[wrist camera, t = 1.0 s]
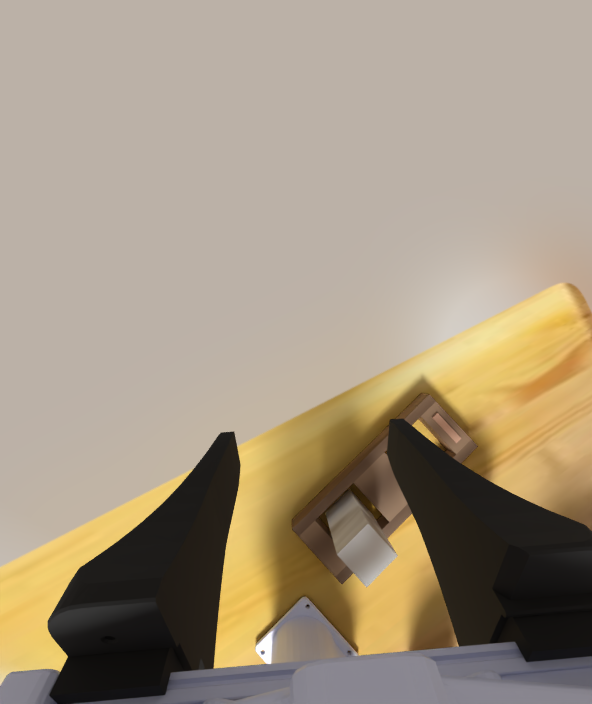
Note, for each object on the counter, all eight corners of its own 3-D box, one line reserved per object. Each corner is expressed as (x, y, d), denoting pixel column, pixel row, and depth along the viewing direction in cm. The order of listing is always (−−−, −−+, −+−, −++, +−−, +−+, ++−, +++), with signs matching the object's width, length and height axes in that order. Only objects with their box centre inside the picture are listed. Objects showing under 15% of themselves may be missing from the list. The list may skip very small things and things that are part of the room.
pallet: (467, 442, 36) (519, 462, 28) (338, 572, 34) (354, 633, 26) (421, 393, 36) (460, 399, 28) (291, 520, 34) (293, 565, 26)
